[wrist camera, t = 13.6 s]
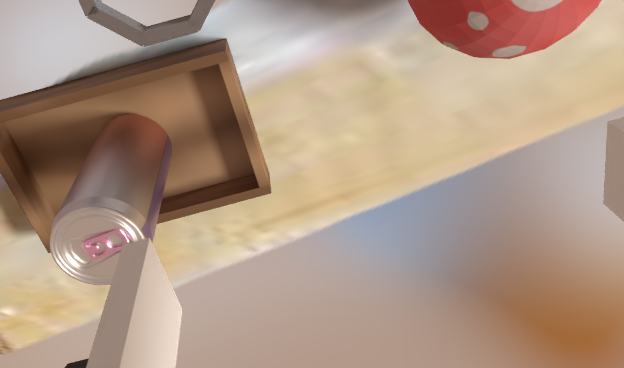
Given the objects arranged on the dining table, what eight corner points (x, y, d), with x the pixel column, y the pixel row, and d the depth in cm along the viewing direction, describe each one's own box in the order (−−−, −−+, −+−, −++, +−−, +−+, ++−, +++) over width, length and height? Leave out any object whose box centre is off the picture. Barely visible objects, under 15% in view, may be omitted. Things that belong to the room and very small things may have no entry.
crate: (-13, 103, 44) (-31, 120, 41) (226, 38, 44) (225, 50, 41) (59, 230, 51) (48, 252, 48) (269, 173, 50) (271, 193, 47)
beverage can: (185, 161, 48) (167, 267, 35) (122, 186, 48) (80, 300, 35) (151, 100, 45) (118, 191, 32) (84, 127, 45) (24, 228, 32)
